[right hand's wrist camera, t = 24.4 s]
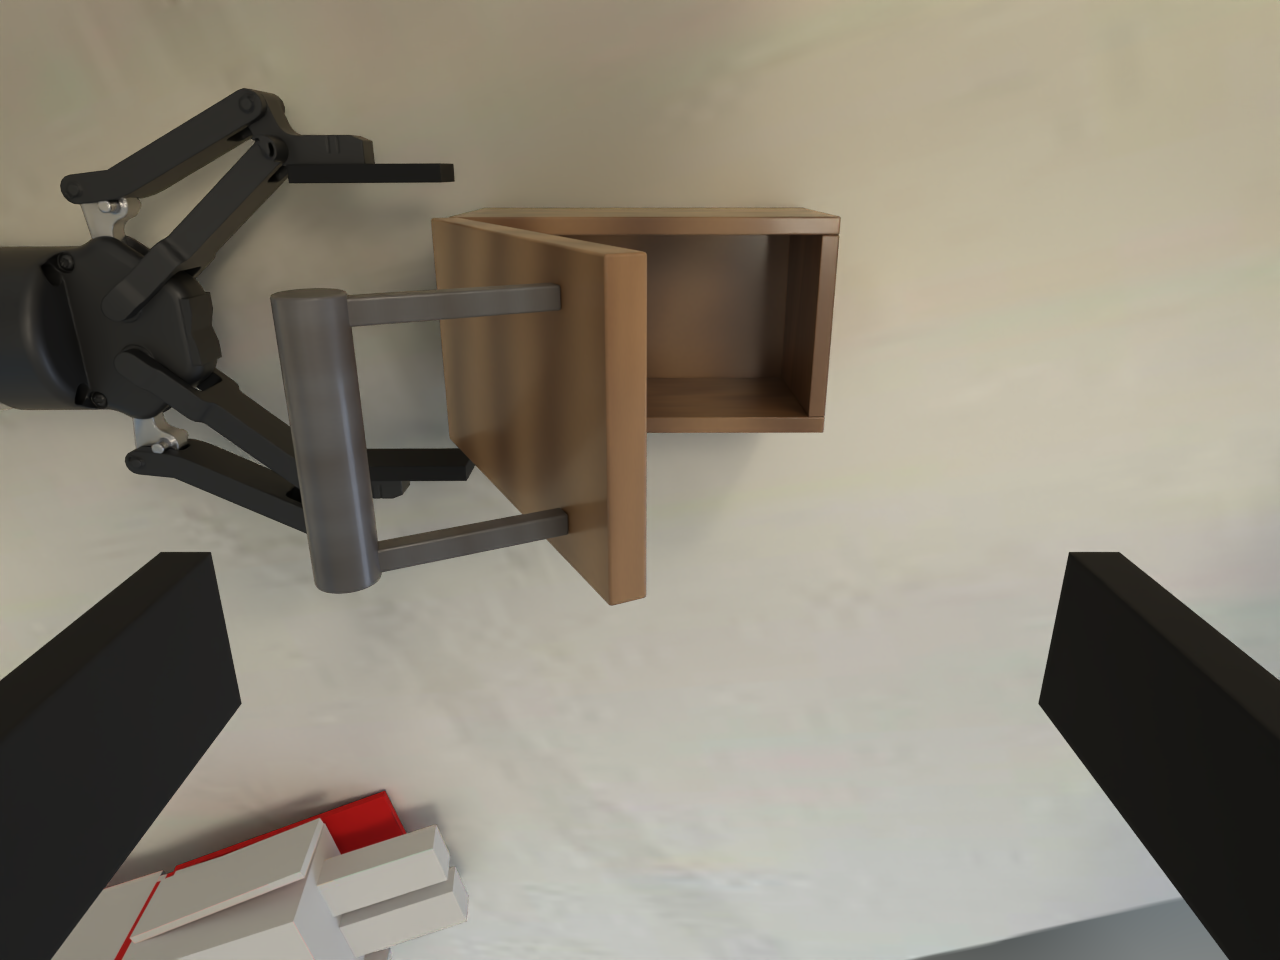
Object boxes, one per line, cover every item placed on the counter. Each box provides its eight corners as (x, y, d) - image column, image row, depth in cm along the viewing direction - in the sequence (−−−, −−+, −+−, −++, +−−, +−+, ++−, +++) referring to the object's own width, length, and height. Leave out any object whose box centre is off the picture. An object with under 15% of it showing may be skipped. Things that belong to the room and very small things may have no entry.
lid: (648, 251, 20) (275, 269, 17) (647, 598, 24) (336, 675, 20) (458, 217, 35) (236, 223, 31) (474, 435, 38) (276, 463, 35)
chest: (803, 207, 43) (841, 216, 35) (791, 387, 47) (823, 433, 39) (483, 207, 43) (447, 216, 35) (494, 387, 47) (465, 433, 39)
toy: (476, 1014, 50) (-8, 1174, 49) (486, 853, 63) (100, 978, 62) (405, 866, 46) (-125, 1036, 45) (430, 725, 59) (17, 856, 58)
